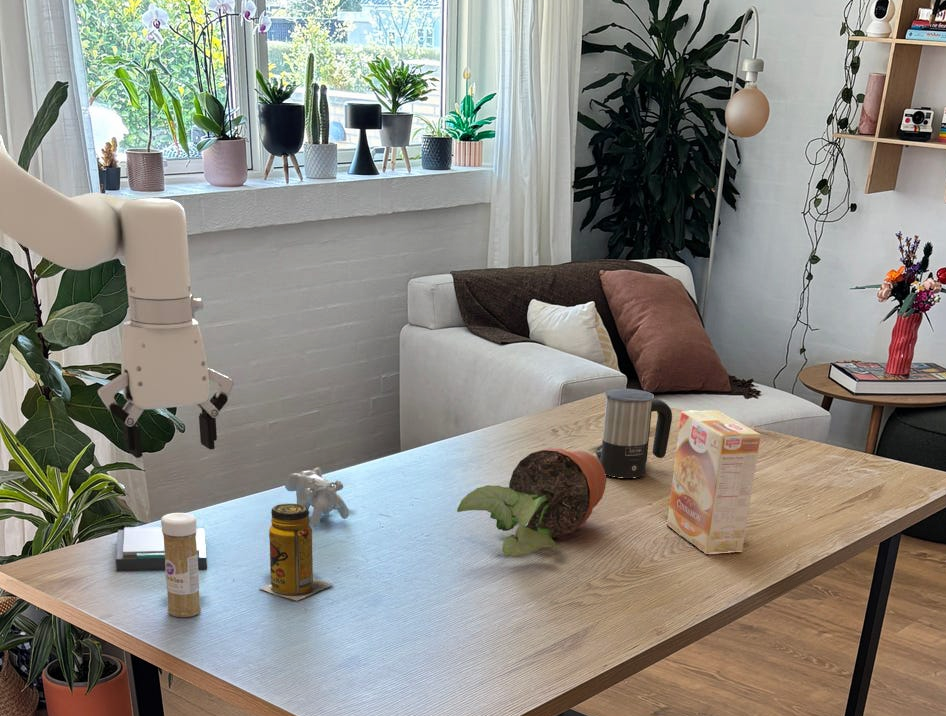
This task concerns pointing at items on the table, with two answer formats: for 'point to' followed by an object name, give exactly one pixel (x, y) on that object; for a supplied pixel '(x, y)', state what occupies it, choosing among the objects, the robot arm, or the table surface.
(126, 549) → the kitchen scale
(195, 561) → the sprinkles bottle
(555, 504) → the potted plant
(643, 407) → the milk frother
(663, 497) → the table surface
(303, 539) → the condiment
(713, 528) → the coffeecake box
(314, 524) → the elephant statuette
